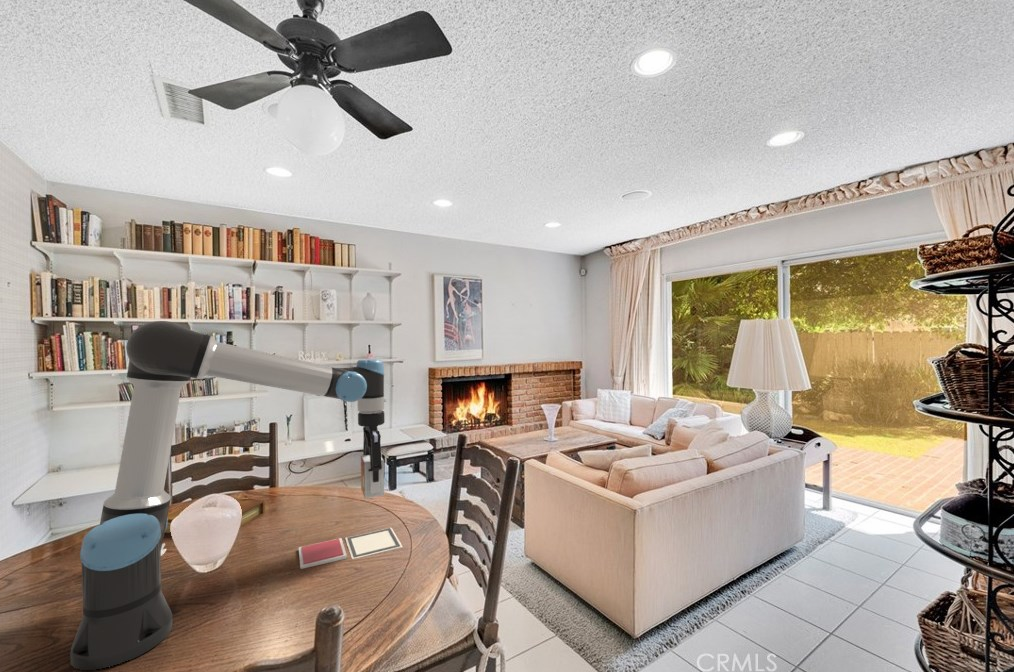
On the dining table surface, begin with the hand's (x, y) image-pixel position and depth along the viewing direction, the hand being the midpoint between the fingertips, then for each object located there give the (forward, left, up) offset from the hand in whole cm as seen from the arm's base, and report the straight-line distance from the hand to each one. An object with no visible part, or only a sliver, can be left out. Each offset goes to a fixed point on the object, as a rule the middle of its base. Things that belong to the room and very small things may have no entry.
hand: (372, 487), depth 127 cm
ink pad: (0, +14, -17) cm, 22 cm away
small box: (0, 0, -2) cm, 2 cm away
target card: (0, 0, -17) cm, 17 cm away
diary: (+40, +44, -17) cm, 62 cm away
